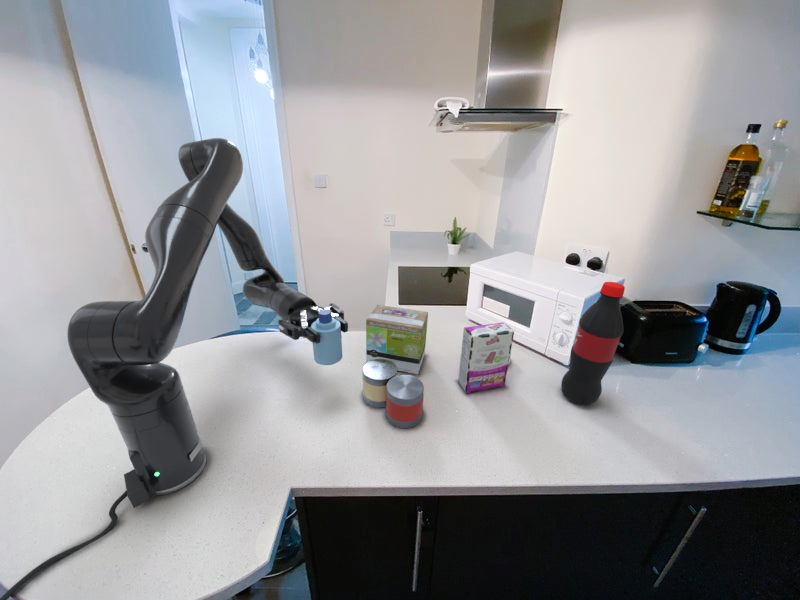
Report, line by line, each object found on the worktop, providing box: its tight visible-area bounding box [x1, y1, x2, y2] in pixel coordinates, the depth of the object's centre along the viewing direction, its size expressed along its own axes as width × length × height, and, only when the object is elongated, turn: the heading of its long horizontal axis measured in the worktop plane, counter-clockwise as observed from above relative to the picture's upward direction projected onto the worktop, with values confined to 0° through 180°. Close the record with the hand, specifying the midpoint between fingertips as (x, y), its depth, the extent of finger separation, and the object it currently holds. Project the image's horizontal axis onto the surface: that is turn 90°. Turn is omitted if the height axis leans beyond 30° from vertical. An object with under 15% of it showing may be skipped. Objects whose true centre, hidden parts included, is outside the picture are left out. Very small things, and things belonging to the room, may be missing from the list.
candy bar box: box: [457, 321, 515, 394], centre depth 78 cm, size 11×5×16 cm, turn 105°
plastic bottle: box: [311, 309, 343, 366], centre depth 66 cm, size 6×6×11 cm
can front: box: [385, 374, 425, 429], centre depth 69 cm, size 8×8×8 cm
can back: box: [362, 359, 398, 409], centre depth 75 cm, size 8×8×8 cm
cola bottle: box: [560, 281, 626, 406], centre depth 72 cm, size 8×8×30 cm
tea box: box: [365, 304, 429, 375], centre depth 87 cm, size 15×10×15 cm, turn 76°
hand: (332, 333), depth 64 cm, fingers closed on plastic bottle, 6 cm apart
